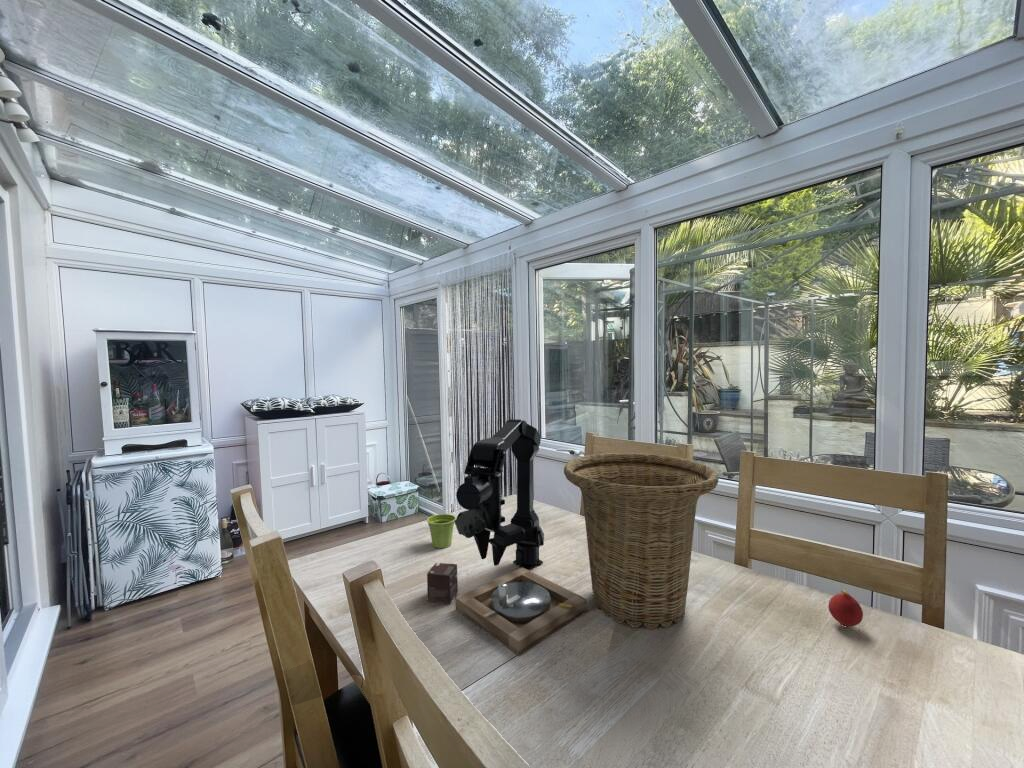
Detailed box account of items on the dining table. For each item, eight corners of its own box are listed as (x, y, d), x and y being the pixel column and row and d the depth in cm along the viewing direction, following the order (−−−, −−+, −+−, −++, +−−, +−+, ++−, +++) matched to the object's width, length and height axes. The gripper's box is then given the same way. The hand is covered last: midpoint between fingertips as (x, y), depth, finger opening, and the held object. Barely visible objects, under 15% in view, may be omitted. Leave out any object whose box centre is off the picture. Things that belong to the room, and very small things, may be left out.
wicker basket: (593, 558, 125) (592, 448, 124) (724, 588, 107) (724, 459, 106) (540, 618, 95) (538, 474, 94) (709, 674, 77) (709, 497, 76)
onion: (855, 621, 92) (855, 586, 92) (867, 637, 87) (868, 599, 87) (824, 616, 94) (824, 582, 94) (834, 632, 89) (835, 595, 89)
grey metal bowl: (521, 583, 108) (521, 557, 108) (563, 606, 98) (562, 576, 98) (479, 604, 99) (478, 575, 99) (519, 631, 88) (519, 599, 88)
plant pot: (424, 542, 139) (423, 516, 138) (451, 537, 143) (451, 511, 142) (431, 553, 130) (430, 525, 130) (460, 547, 134) (459, 520, 134)
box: (450, 605, 101) (449, 575, 101) (426, 602, 103) (426, 573, 102) (458, 591, 107) (457, 563, 107) (436, 589, 109) (435, 562, 108)
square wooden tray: (522, 577, 114) (522, 566, 114) (587, 611, 98) (587, 597, 97) (455, 610, 99) (455, 596, 99) (518, 656, 83) (518, 640, 83)
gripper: (437, 494, 99) (438, 559, 99) (486, 514, 85) (488, 589, 85) (475, 485, 106) (476, 545, 107) (526, 502, 92) (527, 571, 93)
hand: (489, 561), depth 98 cm, fingers open, 4 cm apart
